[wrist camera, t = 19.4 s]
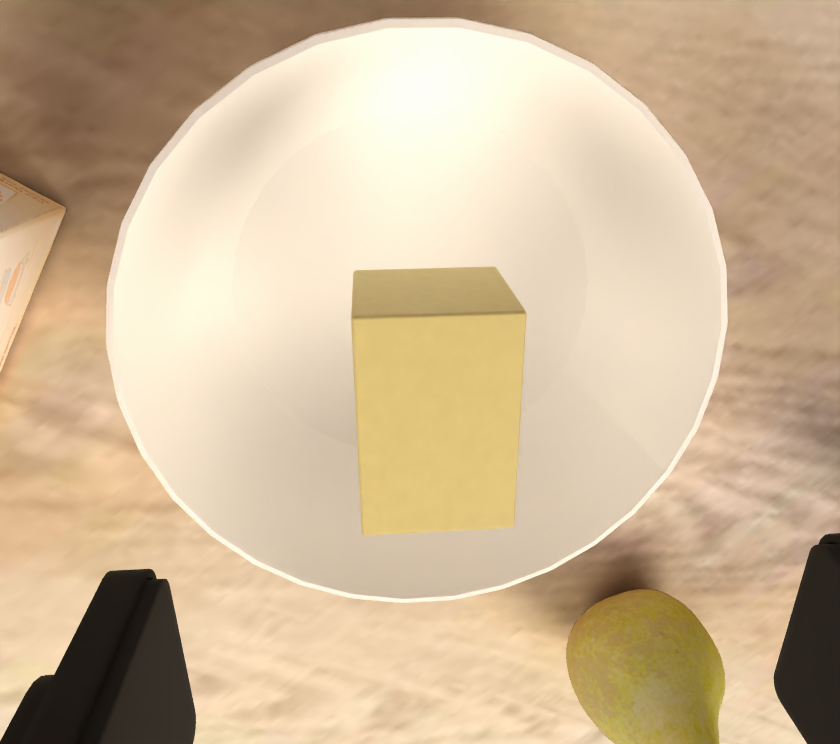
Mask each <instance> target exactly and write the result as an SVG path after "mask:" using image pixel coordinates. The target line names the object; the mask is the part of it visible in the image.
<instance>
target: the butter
mask: <svg viewBox="0 0 840 744" xmlns="http://www.w3.org/2000/svg"><path fill="white" fill-rule="evenodd" d="M526 317H527V313H526V311H525V310H524V308H523V307H522V305H521V304H520V302H519V301H518V299H517V298H516V296H515V295H514V293H513V292H512V290H511V289H510V287H509V286H508V284H507V283H506V281H505V280H504V278H503V277H502V275H501V274H500V272H499V271H498V270H497V268H496V267H458V268H420V269H383V270H356V271H354V273H353V289H352V309H351V329H352V349H353V369H354V389H355V409H356V429H357V449H358V469H359V489H360V509H361V529H362V534H363V535H383V534H402V533H421V532H440V531H459V530H478V529H497V528H512V527H513V526H514V521H515V504H516V487H517V470H518V453H519V436H520V419H521V402H522V385H523V368H524V351H525V334H526Z"/></svg>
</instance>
